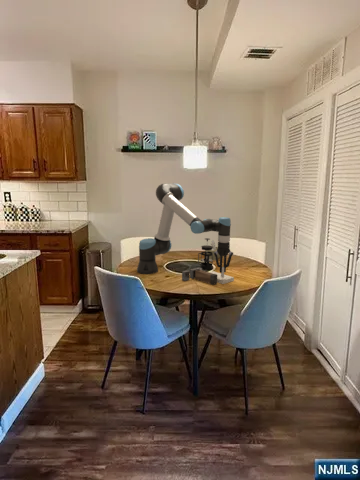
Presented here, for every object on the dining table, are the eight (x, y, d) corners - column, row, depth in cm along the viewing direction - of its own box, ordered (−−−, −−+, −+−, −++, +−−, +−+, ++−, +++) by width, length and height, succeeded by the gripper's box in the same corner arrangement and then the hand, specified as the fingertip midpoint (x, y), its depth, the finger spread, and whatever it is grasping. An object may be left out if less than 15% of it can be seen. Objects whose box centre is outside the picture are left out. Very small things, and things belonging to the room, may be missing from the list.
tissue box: (210, 255, 290) (211, 237, 287) (221, 256, 287) (222, 238, 284) (204, 259, 273) (205, 241, 270) (215, 260, 269) (216, 242, 267)
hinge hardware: (188, 282, 211) (188, 271, 209) (181, 279, 216) (181, 269, 214) (205, 277, 221) (205, 267, 220) (198, 275, 226) (198, 265, 225)
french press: (211, 266, 251) (212, 237, 247) (214, 269, 242) (215, 239, 238) (197, 266, 249) (197, 237, 245) (199, 270, 240) (200, 239, 236)
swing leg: (212, 285, 205) (213, 275, 204) (195, 279, 217) (195, 270, 216) (216, 283, 208) (217, 274, 206) (199, 277, 220) (199, 269, 219)
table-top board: (222, 284, 208) (222, 280, 208) (201, 277, 222) (202, 273, 222) (233, 280, 215) (233, 277, 215) (212, 274, 229) (213, 271, 229)
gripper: (232, 240, 210) (230, 275, 214) (212, 240, 209) (211, 275, 213) (235, 242, 203) (233, 278, 207) (214, 242, 202) (213, 279, 206)
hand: (222, 277), depth 210 cm, fingers closed
